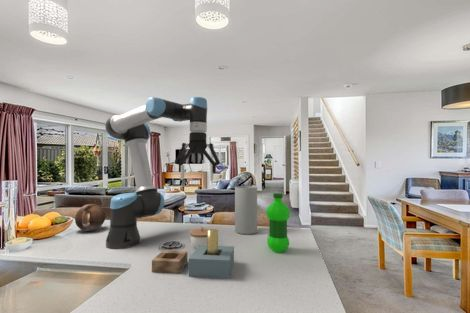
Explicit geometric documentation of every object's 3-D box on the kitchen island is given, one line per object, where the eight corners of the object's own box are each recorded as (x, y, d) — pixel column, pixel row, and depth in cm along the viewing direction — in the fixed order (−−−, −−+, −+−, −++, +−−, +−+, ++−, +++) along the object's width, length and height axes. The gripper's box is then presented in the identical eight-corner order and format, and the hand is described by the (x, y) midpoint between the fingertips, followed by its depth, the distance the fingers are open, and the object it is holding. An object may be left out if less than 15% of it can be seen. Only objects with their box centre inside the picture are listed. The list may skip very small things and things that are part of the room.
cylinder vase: (243, 227, 148) (243, 185, 149) (261, 231, 141) (261, 186, 142) (230, 232, 138) (230, 187, 139) (249, 236, 131) (249, 188, 131)
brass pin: (206, 270, 89) (206, 231, 89) (208, 266, 93) (208, 228, 93) (217, 271, 89) (217, 231, 89) (218, 266, 93) (219, 228, 93)
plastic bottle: (270, 245, 117) (270, 191, 117) (292, 248, 112) (292, 193, 113) (263, 252, 108) (262, 194, 108) (287, 256, 103) (286, 195, 104)
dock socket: (188, 276, 85) (188, 258, 85) (198, 260, 99) (198, 245, 99) (229, 278, 83) (229, 260, 83) (233, 261, 97) (234, 246, 97)
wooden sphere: (88, 226, 150) (88, 201, 150) (110, 227, 148) (111, 202, 148) (67, 233, 135) (68, 206, 135) (93, 235, 133) (93, 206, 133)
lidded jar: (204, 243, 119) (204, 223, 120) (218, 248, 112) (218, 227, 112) (184, 248, 112) (185, 227, 112) (199, 255, 104) (199, 232, 104)
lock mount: (151, 271, 88) (151, 260, 88) (162, 260, 98) (163, 250, 98) (179, 273, 87) (179, 261, 87) (187, 261, 97) (187, 251, 97)
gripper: (168, 131, 109) (166, 179, 109) (224, 131, 106) (222, 181, 106) (174, 133, 117) (173, 178, 116) (226, 133, 113) (225, 180, 113)
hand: (196, 180), depth 111 cm, fingers open, 13 cm apart
